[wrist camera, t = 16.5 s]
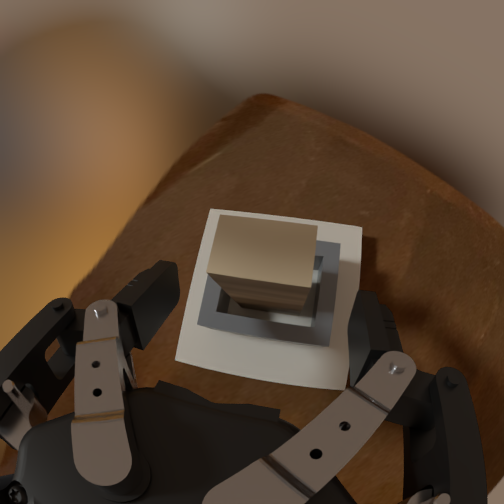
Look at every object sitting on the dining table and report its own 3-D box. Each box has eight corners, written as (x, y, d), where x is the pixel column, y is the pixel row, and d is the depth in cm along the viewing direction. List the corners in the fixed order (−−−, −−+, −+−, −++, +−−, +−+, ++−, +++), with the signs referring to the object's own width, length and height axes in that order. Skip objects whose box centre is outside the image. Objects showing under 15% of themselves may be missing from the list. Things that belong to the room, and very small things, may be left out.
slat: (299, 316, 18) (310, 287, 10) (241, 307, 19) (205, 272, 11) (304, 281, 19) (317, 225, 11) (248, 273, 20) (220, 214, 11)
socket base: (340, 387, 18) (355, 397, 13) (182, 359, 20) (156, 360, 15) (357, 235, 21) (372, 208, 17) (214, 217, 23) (200, 188, 19)
